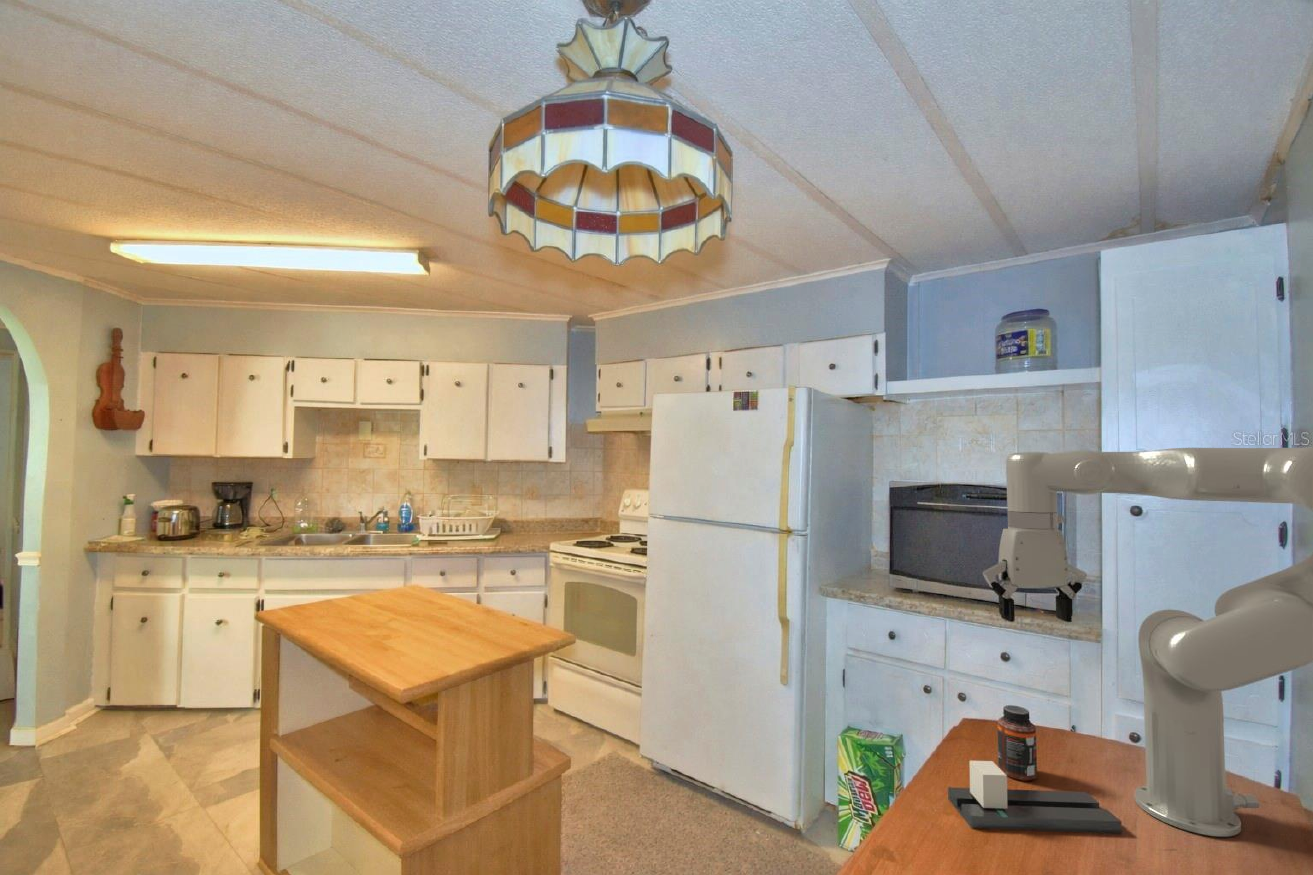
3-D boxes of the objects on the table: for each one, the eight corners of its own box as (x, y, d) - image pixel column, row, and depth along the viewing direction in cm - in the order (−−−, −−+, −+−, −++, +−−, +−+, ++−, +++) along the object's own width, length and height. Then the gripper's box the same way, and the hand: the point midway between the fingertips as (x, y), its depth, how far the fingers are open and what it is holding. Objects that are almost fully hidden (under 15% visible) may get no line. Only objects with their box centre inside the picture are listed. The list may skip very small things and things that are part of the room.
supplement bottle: (1043, 784, 103) (1041, 717, 103) (1005, 780, 104) (1004, 714, 104) (1028, 766, 109) (1027, 703, 109) (993, 763, 110) (992, 701, 110)
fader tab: (992, 800, 96) (992, 761, 96) (1007, 816, 92) (1006, 775, 92) (970, 799, 96) (969, 760, 97) (983, 815, 92) (982, 774, 92)
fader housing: (1085, 803, 97) (1085, 791, 97) (1121, 833, 89) (1121, 820, 89) (948, 798, 98) (948, 786, 98) (971, 827, 90) (971, 815, 90)
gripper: (1068, 520, 108) (1071, 615, 108) (972, 520, 109) (974, 614, 108) (1097, 524, 101) (1101, 626, 100) (993, 524, 102) (997, 625, 101)
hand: (1035, 620), depth 104 cm, fingers open, 9 cm apart
